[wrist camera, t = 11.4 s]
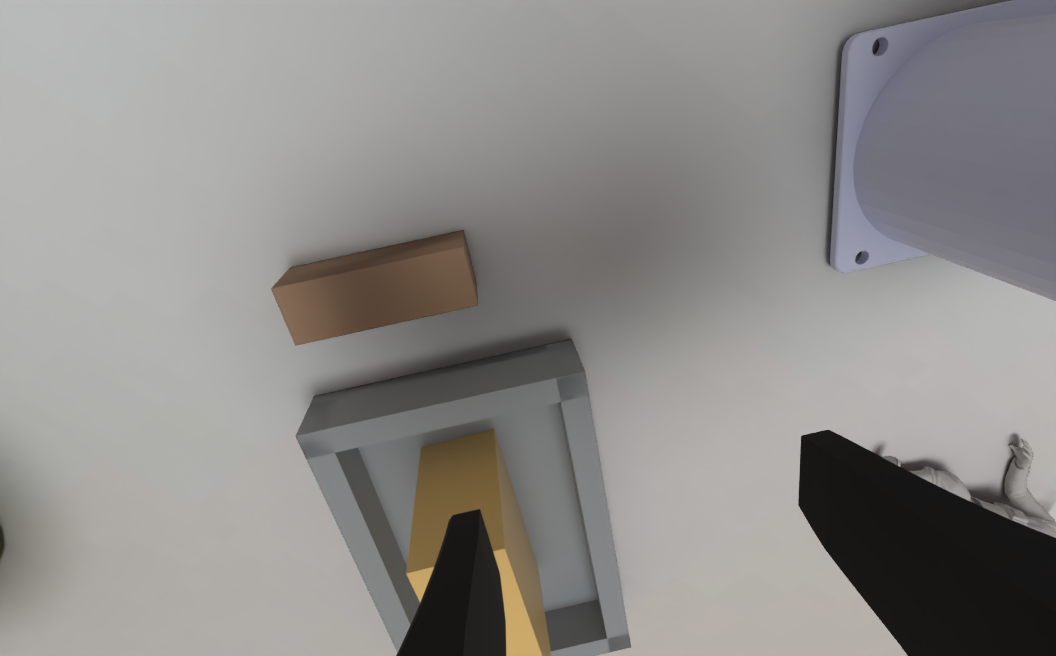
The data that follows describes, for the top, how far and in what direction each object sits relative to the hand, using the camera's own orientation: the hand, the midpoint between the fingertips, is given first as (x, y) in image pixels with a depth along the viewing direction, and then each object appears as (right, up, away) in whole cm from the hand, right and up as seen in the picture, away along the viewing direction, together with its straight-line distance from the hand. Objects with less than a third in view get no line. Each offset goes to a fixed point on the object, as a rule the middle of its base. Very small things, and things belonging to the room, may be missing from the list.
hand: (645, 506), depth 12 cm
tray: (-4, -4, +12) cm, 13 cm away
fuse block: (-5, -4, +11) cm, 13 cm away
